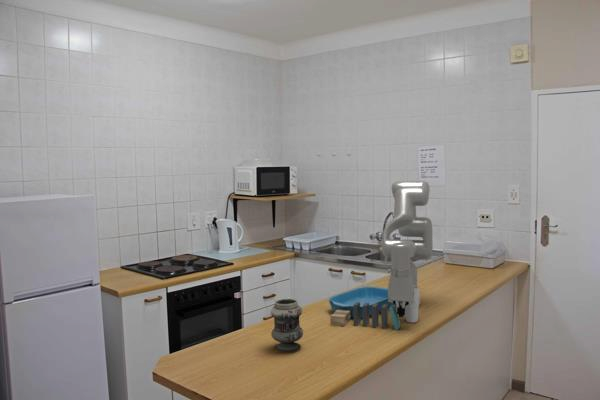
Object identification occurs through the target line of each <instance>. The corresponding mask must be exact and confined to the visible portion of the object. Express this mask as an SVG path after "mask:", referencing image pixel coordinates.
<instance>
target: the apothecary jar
mask: <svg viewBox="0 0 600 400" xmlns="http://www.w3.org/2000/svg"><path fill="white" fill-rule="evenodd" d="M270 314H271V316H272V317H273V318H274V319H273V320H274V322H273V323H274V324H273V325H274V326H273V327H274V328H273V329H272V331H271V332H270V333H271V335H270V336H271V338H272V339H273V340H275V341H276V342H279V343H277V344H275V346H274V350H275V351H276V352H279V353H282V354H283V353H284V354H285V353H286V354H287V353H288V354H290V353H294V352H298V351H299V350H301V348H302V347H301V344H300V343H298V342H297V341H299V340H300V339H301V338H303V336H304V330H303V328H302V327H301V326H300V316H301V315H302V314H303V308H302V307H301V306H300V305H299V303H298V300H297V299H294V298H280V299H277V300H275V301H274V306H273V307H272V308H271V309H270Z"/></svg>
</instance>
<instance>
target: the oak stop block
mask: <svg viewBox="0 0 600 400" xmlns="http://www.w3.org/2000/svg"><path fill="white" fill-rule="evenodd" d="M351 319H352V318H351V313H350V311H348V310H336V311H335V312H334V311H333V313H332V314H331V315H330V326H334V327H346V325H347V324H348V323H349V322H350V321H351Z"/></svg>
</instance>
